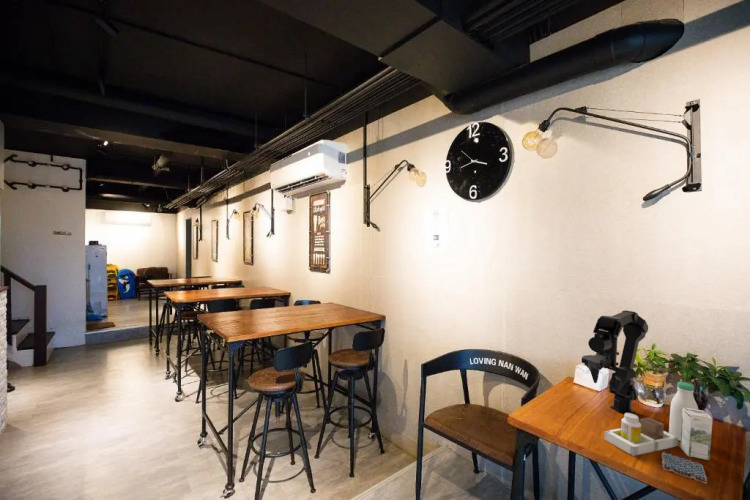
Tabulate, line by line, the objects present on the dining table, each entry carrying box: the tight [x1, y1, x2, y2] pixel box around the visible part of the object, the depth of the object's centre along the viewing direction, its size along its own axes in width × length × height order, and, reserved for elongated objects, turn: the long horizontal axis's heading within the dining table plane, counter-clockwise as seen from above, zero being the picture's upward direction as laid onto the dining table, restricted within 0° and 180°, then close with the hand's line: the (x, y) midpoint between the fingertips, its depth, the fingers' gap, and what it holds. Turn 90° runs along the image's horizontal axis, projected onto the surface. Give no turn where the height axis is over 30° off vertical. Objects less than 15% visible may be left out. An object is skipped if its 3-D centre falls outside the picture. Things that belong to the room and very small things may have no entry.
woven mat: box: [660, 450, 708, 485], centre depth 109 cm, size 10×11×2 cm
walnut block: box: [639, 417, 665, 440], centre depth 124 cm, size 5×5×7 cm
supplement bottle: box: [620, 413, 641, 444], centre depth 121 cm, size 6×6×10 cm
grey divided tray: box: [603, 427, 679, 457], centre depth 123 cm, size 22×10×3 cm, turn 109°
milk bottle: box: [668, 381, 699, 442], centre depth 127 cm, size 8×8×20 cm
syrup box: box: [679, 408, 713, 461], centre depth 117 cm, size 6×6×14 cm
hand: (606, 387), depth 139 cm, fingers open, 9 cm apart
